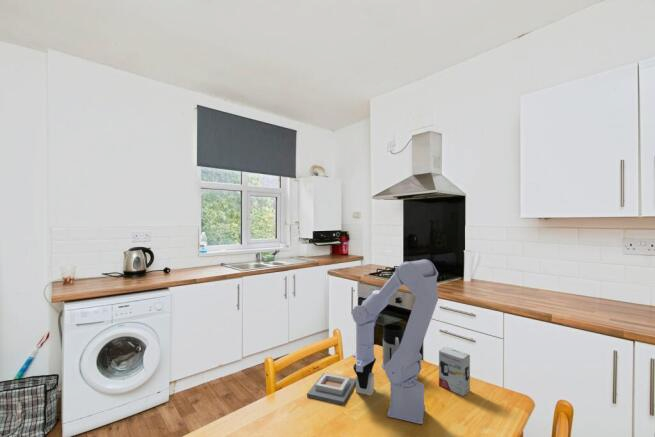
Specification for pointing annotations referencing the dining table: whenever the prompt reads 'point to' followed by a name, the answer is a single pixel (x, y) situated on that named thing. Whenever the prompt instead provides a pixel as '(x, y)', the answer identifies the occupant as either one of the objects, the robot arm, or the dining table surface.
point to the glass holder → (391, 341)
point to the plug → (369, 387)
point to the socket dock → (332, 388)
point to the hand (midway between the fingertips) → (364, 384)
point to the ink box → (454, 370)
